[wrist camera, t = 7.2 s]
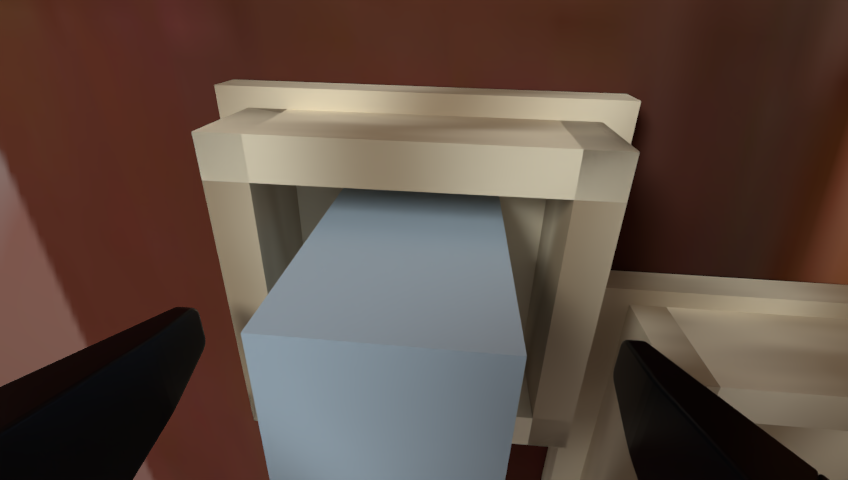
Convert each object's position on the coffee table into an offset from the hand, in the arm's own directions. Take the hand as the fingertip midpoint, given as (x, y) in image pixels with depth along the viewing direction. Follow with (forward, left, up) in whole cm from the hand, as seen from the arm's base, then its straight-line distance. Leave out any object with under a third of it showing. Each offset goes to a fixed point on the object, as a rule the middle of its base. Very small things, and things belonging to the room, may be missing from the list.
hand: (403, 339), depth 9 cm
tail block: (0, 0, -3) cm, 3 cm away
